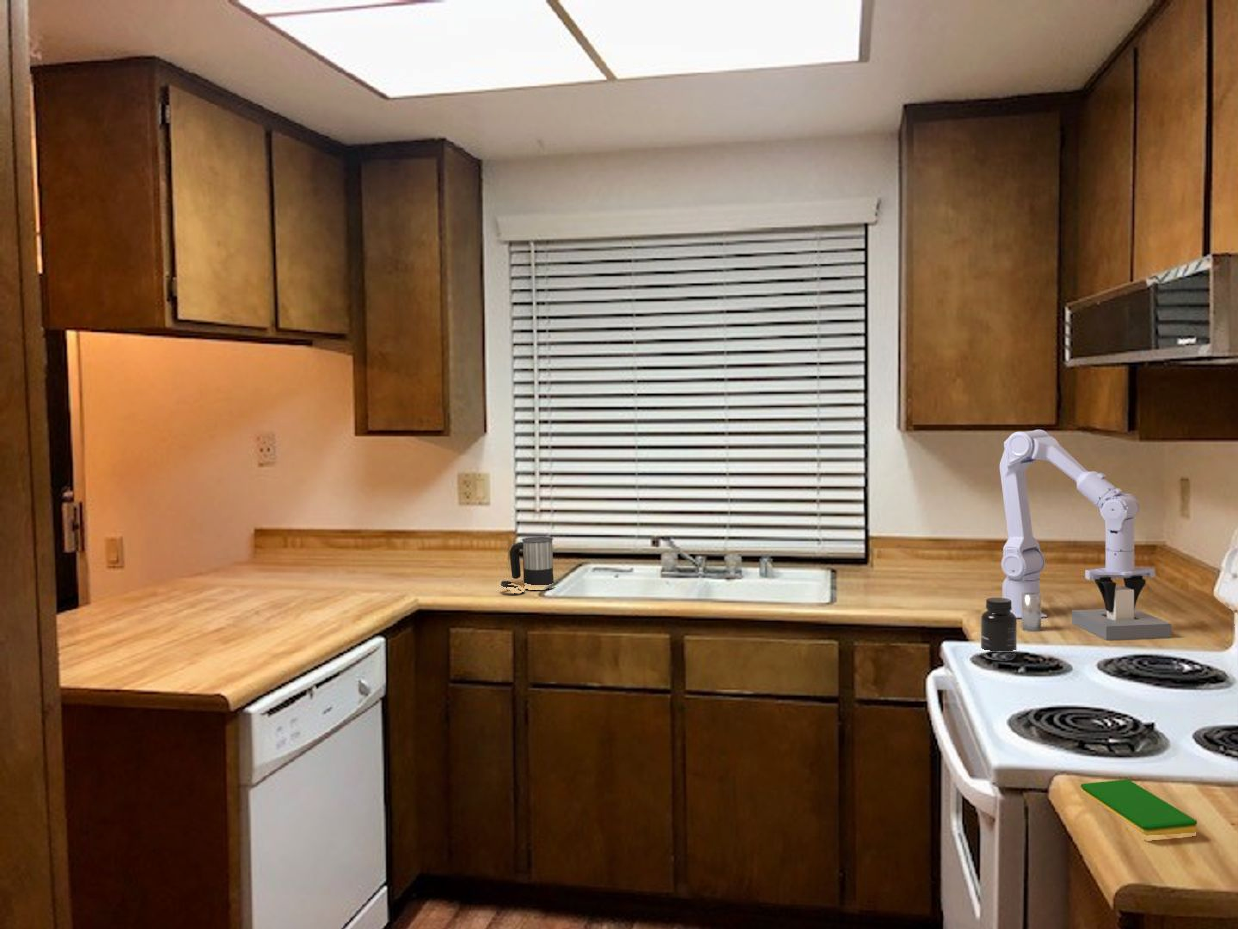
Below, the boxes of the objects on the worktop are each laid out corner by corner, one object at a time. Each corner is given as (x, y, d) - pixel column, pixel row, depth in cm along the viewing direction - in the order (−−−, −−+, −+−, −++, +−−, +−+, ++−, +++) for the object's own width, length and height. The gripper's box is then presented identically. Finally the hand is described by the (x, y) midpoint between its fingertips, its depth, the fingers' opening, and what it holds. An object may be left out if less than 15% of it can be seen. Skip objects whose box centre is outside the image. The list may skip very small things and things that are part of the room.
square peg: (1106, 622, 227) (1106, 587, 227) (1124, 621, 227) (1124, 586, 227) (1115, 626, 223) (1115, 590, 223) (1133, 625, 223) (1133, 589, 223)
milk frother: (558, 585, 303) (556, 535, 302) (546, 596, 287) (544, 544, 286) (512, 585, 305) (509, 536, 304) (497, 596, 290) (495, 544, 288)
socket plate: (1071, 623, 233) (1071, 610, 233) (1132, 620, 234) (1132, 607, 233) (1106, 640, 217) (1106, 626, 217) (1171, 637, 218) (1171, 623, 217)
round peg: (1019, 627, 231) (1018, 592, 231) (1036, 626, 231) (1036, 592, 231) (1026, 631, 227) (1026, 596, 227) (1044, 631, 227) (1044, 595, 227)
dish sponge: (1128, 795, 138) (1128, 778, 138) (1198, 840, 125) (1198, 821, 125) (1079, 800, 138) (1079, 783, 137) (1145, 846, 124) (1144, 826, 124)
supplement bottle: (974, 658, 207) (974, 600, 206) (990, 651, 212) (989, 594, 211) (1007, 664, 202) (1007, 604, 201) (1022, 657, 207) (1022, 598, 206)
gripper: (1095, 553, 220) (1096, 615, 221) (1162, 551, 220) (1162, 613, 221) (1080, 548, 227) (1080, 608, 228) (1145, 546, 227) (1145, 606, 228)
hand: (1119, 610), depth 225 cm, fingers closed on square peg, 4 cm apart
